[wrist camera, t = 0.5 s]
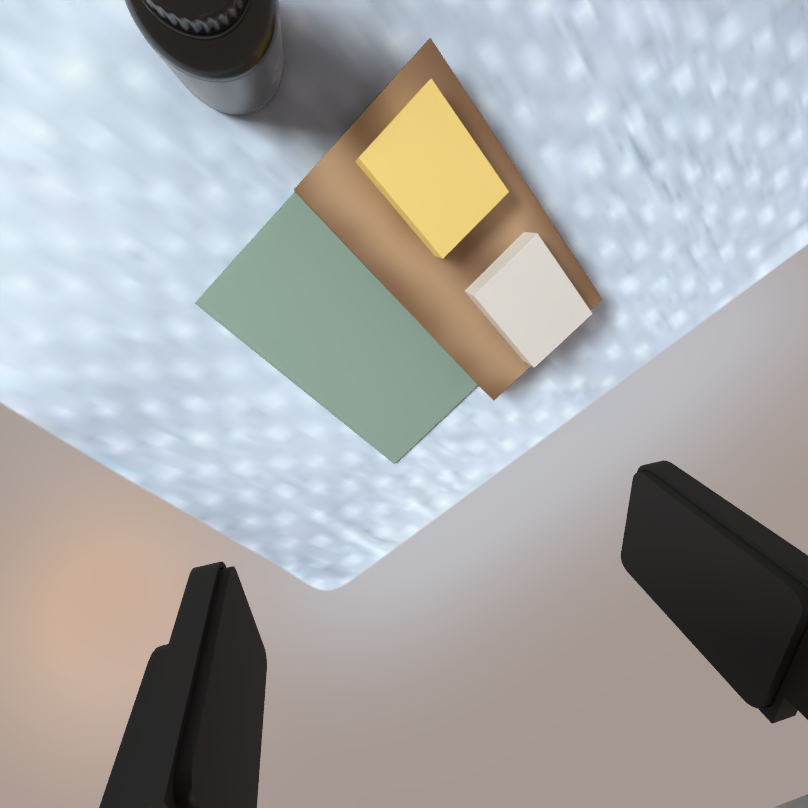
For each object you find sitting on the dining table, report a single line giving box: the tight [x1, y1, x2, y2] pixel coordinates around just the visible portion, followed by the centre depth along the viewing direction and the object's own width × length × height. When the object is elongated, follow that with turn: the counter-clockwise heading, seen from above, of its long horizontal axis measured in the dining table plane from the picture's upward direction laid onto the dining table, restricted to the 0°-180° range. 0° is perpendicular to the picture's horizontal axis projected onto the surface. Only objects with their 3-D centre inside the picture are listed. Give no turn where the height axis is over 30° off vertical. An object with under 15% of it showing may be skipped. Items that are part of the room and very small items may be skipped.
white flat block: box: [465, 232, 592, 368], centre depth 33 cm, size 6×8×2 cm
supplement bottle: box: [125, 0, 284, 115], centre depth 22 cm, size 7×7×12 cm
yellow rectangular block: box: [355, 79, 509, 259], centre depth 28 cm, size 6×8×2 cm
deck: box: [294, 38, 602, 400], centre depth 33 cm, size 12×22×4 cm, turn 44°
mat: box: [195, 192, 478, 464], centre depth 36 cm, size 12×22×1 cm, turn 44°
